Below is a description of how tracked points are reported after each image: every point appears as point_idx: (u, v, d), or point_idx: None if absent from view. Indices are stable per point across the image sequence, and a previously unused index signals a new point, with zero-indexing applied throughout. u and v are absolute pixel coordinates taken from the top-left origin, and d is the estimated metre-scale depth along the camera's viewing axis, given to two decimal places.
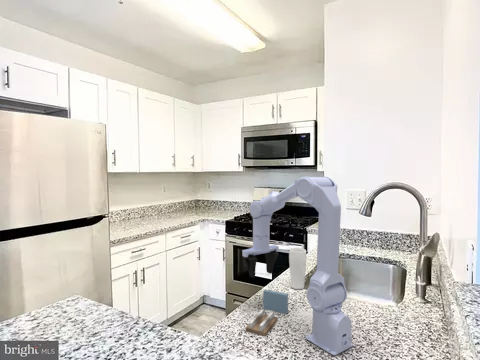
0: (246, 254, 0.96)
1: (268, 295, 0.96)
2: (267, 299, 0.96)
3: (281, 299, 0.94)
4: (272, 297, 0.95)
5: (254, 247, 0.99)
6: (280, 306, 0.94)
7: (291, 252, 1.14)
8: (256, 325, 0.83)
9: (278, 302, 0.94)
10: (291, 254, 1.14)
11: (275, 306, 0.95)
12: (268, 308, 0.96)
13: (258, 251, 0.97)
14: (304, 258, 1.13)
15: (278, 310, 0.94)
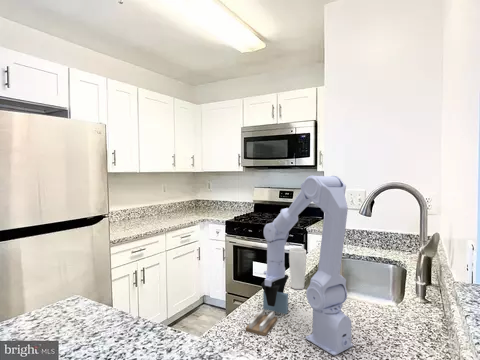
0: (270, 283, 0.89)
1: None
2: None
3: (281, 299, 0.94)
4: None
5: (272, 273, 0.93)
6: (280, 306, 0.94)
7: (291, 252, 1.14)
8: (256, 325, 0.83)
9: (278, 302, 0.94)
10: (291, 254, 1.14)
11: (275, 306, 0.95)
12: (268, 308, 0.96)
13: (279, 277, 0.92)
14: (304, 258, 1.13)
15: (278, 310, 0.94)
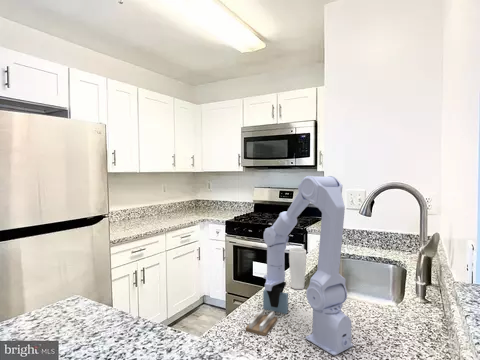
0: (270, 287, 0.89)
1: None
2: (267, 299, 0.96)
3: (281, 298, 0.94)
4: None
5: (272, 278, 0.93)
6: (280, 306, 0.94)
7: (291, 252, 1.14)
8: (256, 325, 0.83)
9: None
10: (291, 254, 1.14)
11: None
12: (268, 308, 0.96)
13: (279, 282, 0.92)
14: (304, 258, 1.13)
15: (278, 310, 0.94)
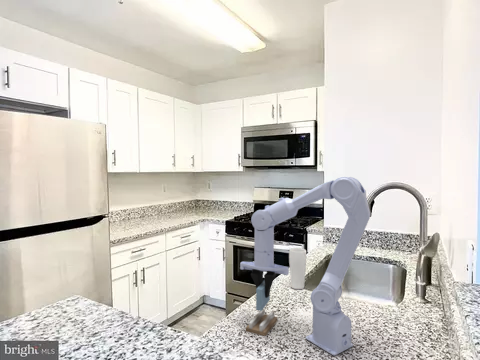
0: (241, 266, 0.88)
1: None
2: None
3: None
4: None
5: None
6: None
7: (291, 252, 1.14)
8: (256, 325, 0.83)
9: None
10: (291, 254, 1.14)
11: None
12: None
13: (252, 266, 0.85)
14: (304, 258, 1.13)
15: None
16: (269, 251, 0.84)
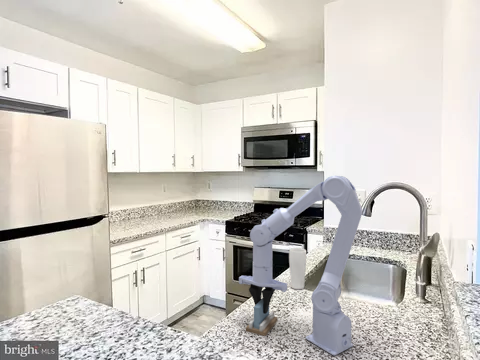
0: (239, 280, 0.88)
1: None
2: None
3: None
4: None
5: None
6: None
7: (291, 252, 1.14)
8: None
9: None
10: (291, 254, 1.14)
11: None
12: None
13: (250, 281, 0.85)
14: (304, 258, 1.13)
15: None
16: (267, 267, 0.83)
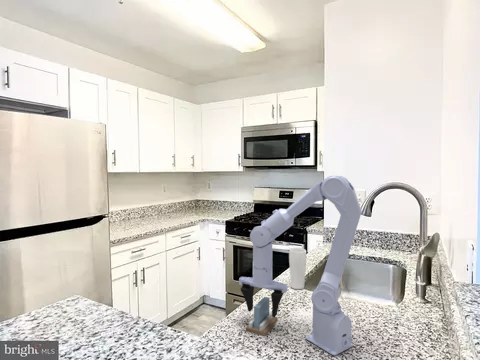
0: (239, 282, 0.88)
1: None
2: None
3: None
4: None
5: None
6: None
7: (291, 252, 1.14)
8: None
9: None
10: (291, 254, 1.14)
11: None
12: None
13: (250, 283, 0.85)
14: (304, 258, 1.13)
15: None
16: (267, 268, 0.83)
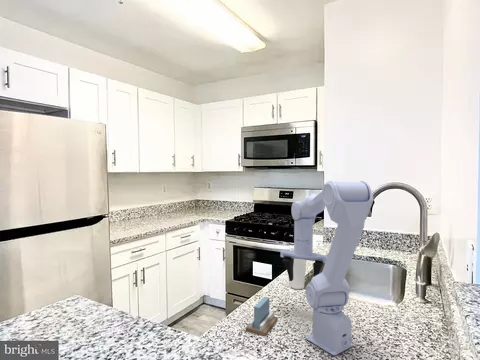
0: (281, 254, 0.94)
1: None
2: None
3: None
4: None
5: None
6: None
7: None
8: None
9: None
10: None
11: None
12: None
13: (292, 254, 0.92)
14: None
15: None
16: (309, 240, 0.90)
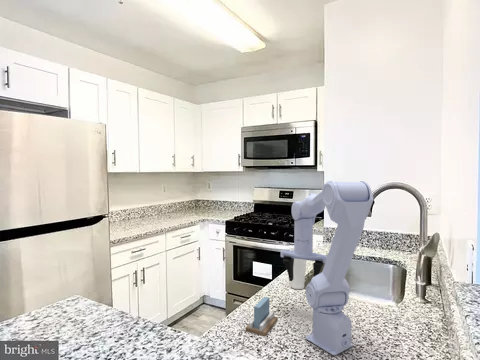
0: (281, 254, 0.94)
1: None
2: None
3: None
4: None
5: None
6: None
7: None
8: None
9: None
10: None
11: None
12: None
13: (292, 254, 0.92)
14: None
15: None
16: (309, 240, 0.90)
